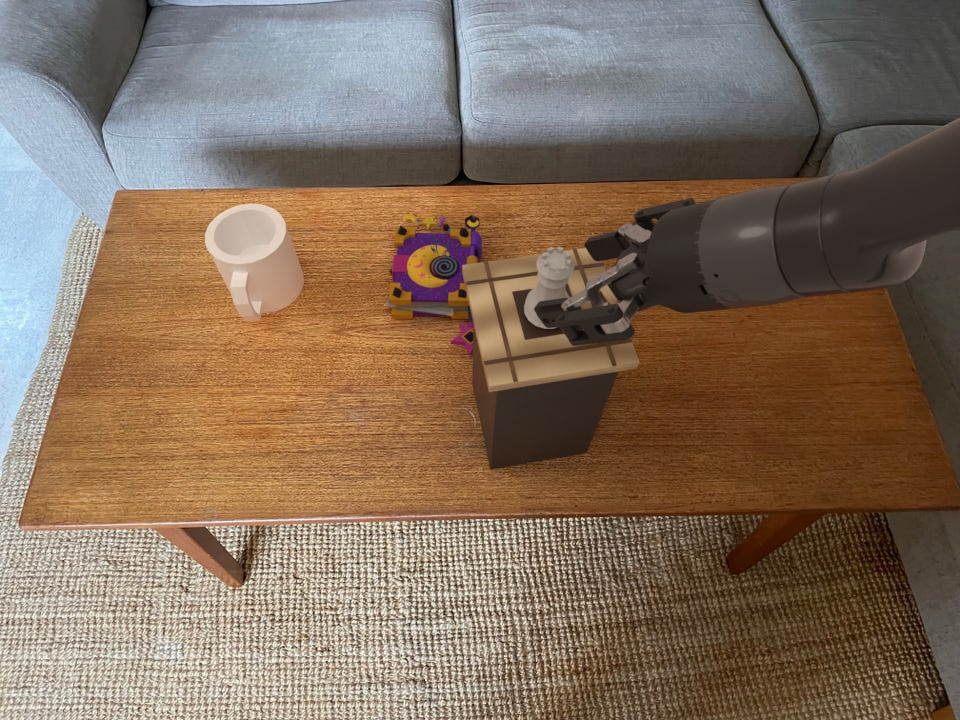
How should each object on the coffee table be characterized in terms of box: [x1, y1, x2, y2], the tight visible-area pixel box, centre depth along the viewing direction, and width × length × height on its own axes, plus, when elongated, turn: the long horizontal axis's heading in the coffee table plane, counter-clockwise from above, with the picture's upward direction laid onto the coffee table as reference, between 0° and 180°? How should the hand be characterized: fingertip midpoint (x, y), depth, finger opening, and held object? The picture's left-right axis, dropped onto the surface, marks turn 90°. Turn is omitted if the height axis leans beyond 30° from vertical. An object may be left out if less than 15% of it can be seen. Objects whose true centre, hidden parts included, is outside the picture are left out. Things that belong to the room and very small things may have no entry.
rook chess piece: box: [524, 246, 574, 329], centre depth 58 cm, size 4×4×8 cm
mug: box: [204, 203, 305, 322], centre depth 86 cm, size 14×10×11 cm
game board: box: [462, 247, 640, 392], centre depth 62 cm, size 14×14×1 cm
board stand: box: [472, 323, 620, 470], centre depth 72 cm, size 12×12×22 cm
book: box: [382, 214, 483, 357], centre depth 87 cm, size 15×25×12 cm, turn 0°
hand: (566, 281), depth 56 cm, fingers open, 8 cm apart
